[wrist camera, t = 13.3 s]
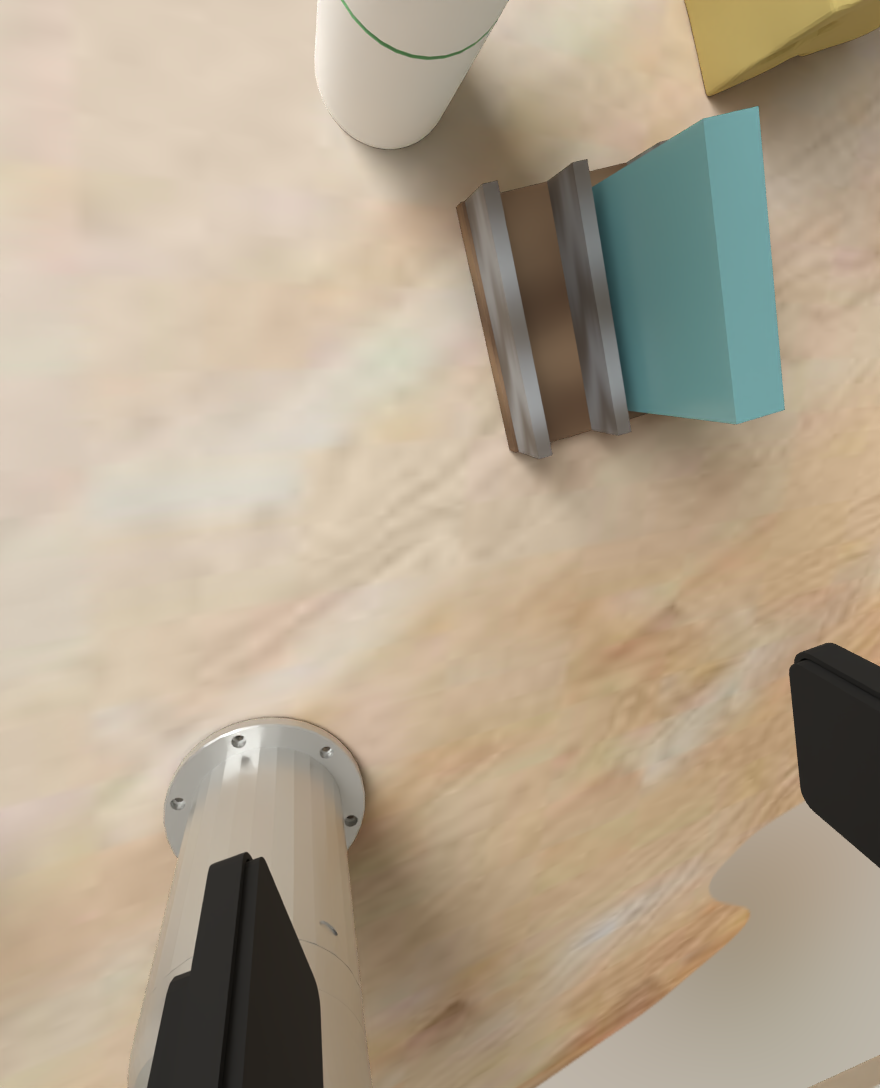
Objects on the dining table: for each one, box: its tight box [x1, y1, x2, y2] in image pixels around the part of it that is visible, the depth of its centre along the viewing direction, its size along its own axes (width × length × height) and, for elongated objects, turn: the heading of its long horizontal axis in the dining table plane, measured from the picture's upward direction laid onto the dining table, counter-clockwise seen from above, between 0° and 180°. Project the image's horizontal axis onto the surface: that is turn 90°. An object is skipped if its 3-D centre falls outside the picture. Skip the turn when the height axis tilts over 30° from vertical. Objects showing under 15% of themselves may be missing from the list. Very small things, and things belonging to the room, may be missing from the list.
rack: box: [456, 140, 668, 459], centre depth 37 cm, size 14×16×5 cm
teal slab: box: [592, 106, 785, 424], centre depth 33 cm, size 12×2×12 cm, turn 14°
